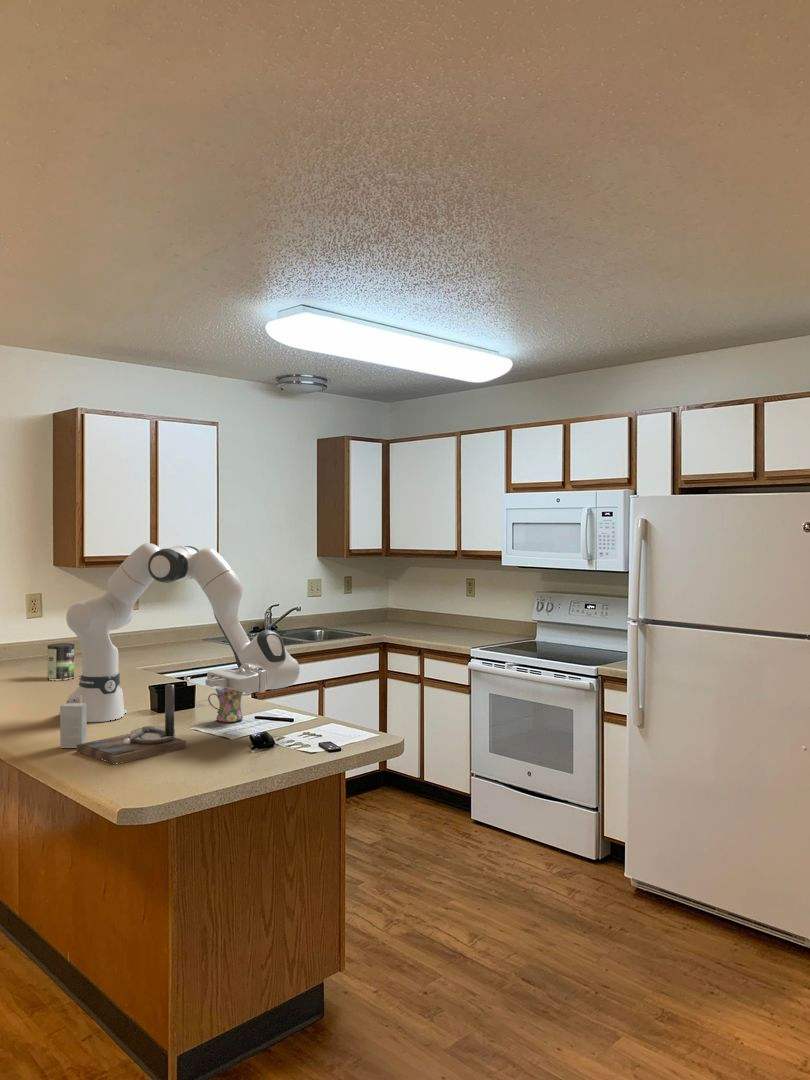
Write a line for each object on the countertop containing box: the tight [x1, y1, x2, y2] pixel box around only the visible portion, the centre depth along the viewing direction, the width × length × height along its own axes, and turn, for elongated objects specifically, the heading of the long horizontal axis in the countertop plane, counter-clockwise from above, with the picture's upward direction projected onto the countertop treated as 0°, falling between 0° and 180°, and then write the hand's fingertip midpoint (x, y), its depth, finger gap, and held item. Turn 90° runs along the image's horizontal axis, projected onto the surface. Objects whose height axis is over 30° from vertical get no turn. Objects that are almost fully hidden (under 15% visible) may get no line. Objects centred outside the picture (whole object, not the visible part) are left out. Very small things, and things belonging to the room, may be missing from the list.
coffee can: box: [47, 642, 76, 679], centre depth 330 cm, size 10×10×14 cm
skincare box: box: [59, 702, 88, 749], centre depth 226 cm, size 6×4×12 cm
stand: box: [76, 732, 187, 765], centre depth 224 cm, size 19×22×2 cm
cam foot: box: [123, 683, 176, 745], centre depth 223 cm, size 14×20×16 cm
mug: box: [207, 686, 244, 723], centre depth 259 cm, size 12×9×11 cm
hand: (207, 683), depth 230 cm, fingers closed
